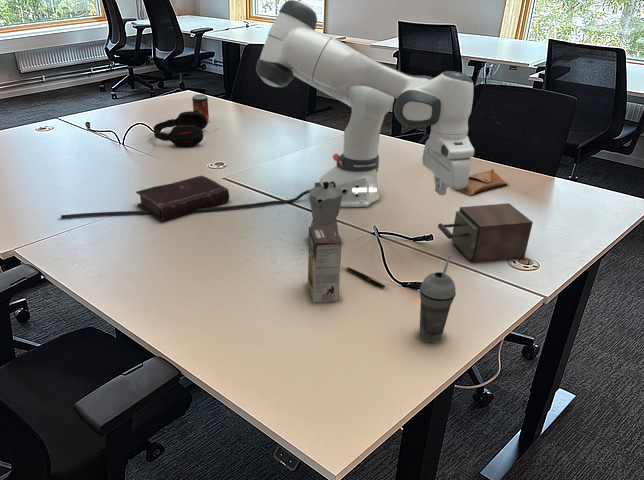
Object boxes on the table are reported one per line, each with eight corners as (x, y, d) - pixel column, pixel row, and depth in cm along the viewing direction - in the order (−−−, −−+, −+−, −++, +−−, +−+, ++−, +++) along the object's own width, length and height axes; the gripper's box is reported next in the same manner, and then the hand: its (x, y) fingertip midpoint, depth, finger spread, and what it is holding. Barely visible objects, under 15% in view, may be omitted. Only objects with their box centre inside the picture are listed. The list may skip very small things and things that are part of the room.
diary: (230, 202, 194) (229, 188, 192) (163, 223, 182) (161, 208, 180) (200, 187, 207) (199, 173, 205) (136, 205, 195) (134, 190, 192)
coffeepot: (333, 254, 161) (336, 192, 152) (301, 249, 165) (301, 188, 155) (347, 231, 174) (350, 172, 164) (316, 227, 177) (318, 169, 167)
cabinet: (473, 263, 155) (480, 226, 150) (454, 241, 166) (459, 207, 160) (524, 258, 156) (533, 222, 151) (501, 237, 167) (509, 203, 161)
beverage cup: (420, 323, 132) (432, 243, 122) (452, 333, 129) (467, 252, 118) (407, 339, 127) (418, 258, 117) (440, 350, 124) (455, 267, 113)
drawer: (448, 261, 155) (453, 230, 150) (431, 242, 164) (435, 212, 159) (515, 255, 156) (522, 224, 152) (495, 236, 166) (501, 207, 161)
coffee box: (306, 284, 148) (307, 225, 140) (331, 282, 149) (334, 224, 140) (312, 303, 141) (314, 242, 132) (339, 301, 141) (342, 241, 133)
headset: (226, 143, 250) (225, 122, 245) (167, 153, 240) (165, 132, 235) (202, 127, 271) (201, 107, 267) (147, 136, 262) (145, 116, 257)
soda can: (191, 123, 277) (189, 96, 270) (198, 119, 282) (196, 93, 276) (204, 124, 274) (202, 97, 268) (211, 120, 280) (210, 94, 273)
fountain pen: (341, 269, 154) (341, 264, 154) (344, 267, 155) (344, 262, 154) (383, 290, 145) (384, 284, 144) (386, 288, 146) (387, 283, 145)
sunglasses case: (472, 195, 193) (467, 175, 192) (456, 199, 199) (451, 180, 198) (510, 183, 200) (505, 164, 199) (493, 188, 206) (489, 169, 206)
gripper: (419, 130, 155) (413, 180, 162) (452, 154, 138) (444, 209, 145) (442, 128, 156) (435, 178, 163) (478, 152, 138) (468, 207, 146)
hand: (439, 193), depth 154 cm, fingers closed
